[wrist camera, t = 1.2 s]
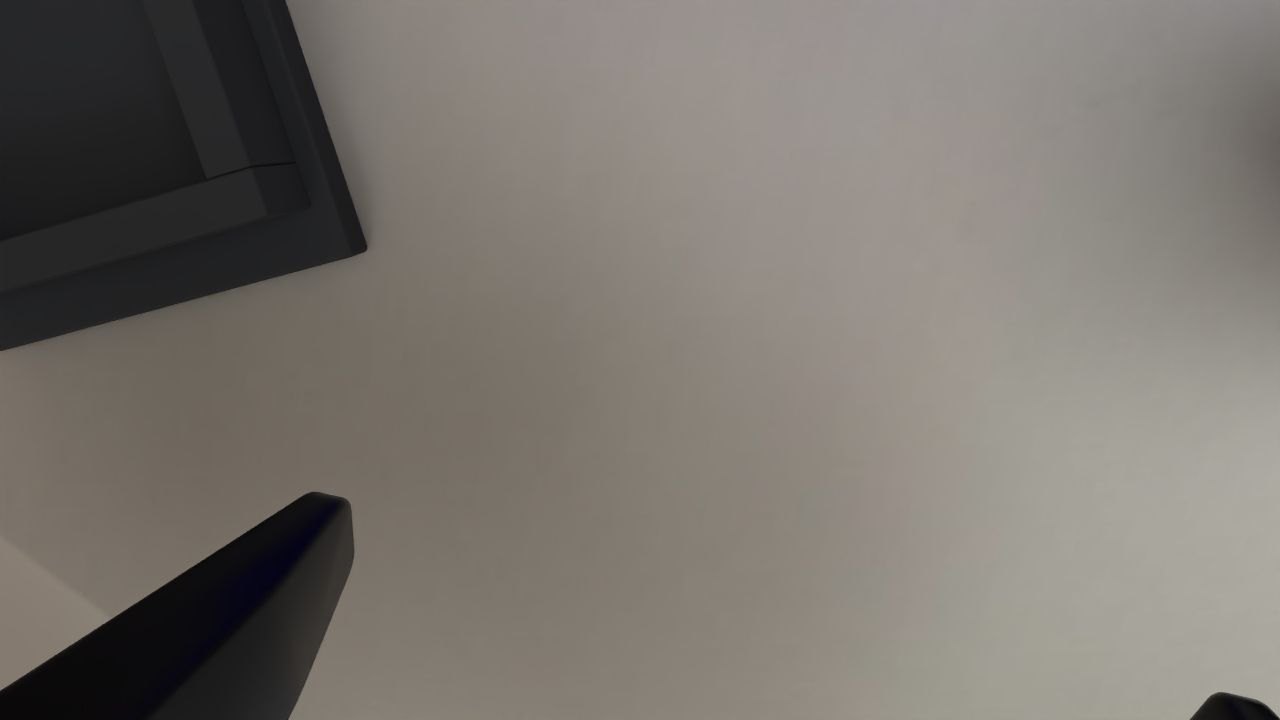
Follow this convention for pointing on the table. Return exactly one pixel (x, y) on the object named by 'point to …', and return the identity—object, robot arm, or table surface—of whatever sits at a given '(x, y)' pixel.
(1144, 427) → the table surface
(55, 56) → the socket pad
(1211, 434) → the table surface
